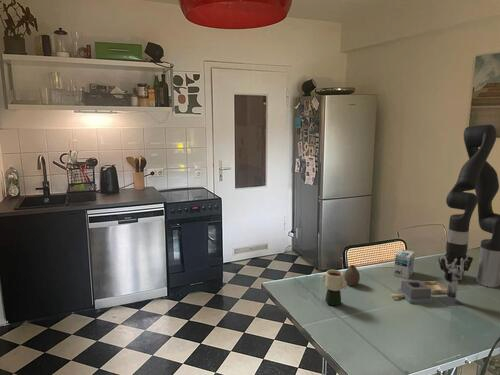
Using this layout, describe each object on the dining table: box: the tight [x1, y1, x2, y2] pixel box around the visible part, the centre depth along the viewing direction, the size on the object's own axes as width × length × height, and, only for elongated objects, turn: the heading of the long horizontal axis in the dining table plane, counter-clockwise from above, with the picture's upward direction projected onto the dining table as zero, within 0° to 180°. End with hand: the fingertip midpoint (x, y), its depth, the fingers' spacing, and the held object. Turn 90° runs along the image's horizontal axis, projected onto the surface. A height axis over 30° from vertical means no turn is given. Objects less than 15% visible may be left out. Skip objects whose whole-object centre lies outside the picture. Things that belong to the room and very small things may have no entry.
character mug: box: [322, 269, 348, 306], centre depth 150 cm, size 11×7×13 cm, turn 45°
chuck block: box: [391, 279, 434, 304], centre depth 156 cm, size 15×10×6 cm, turn 95°
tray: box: [422, 280, 448, 294], centre depth 165 cm, size 9×9×2 cm
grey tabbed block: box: [446, 269, 463, 299], centre depth 152 cm, size 4×7×11 cm, turn 6°
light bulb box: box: [393, 248, 416, 280], centre depth 181 cm, size 11×7×11 cm, turn 143°
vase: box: [344, 264, 361, 287], centre depth 168 cm, size 7×7×9 cm
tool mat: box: [435, 295, 465, 307], centre depth 154 cm, size 8×8×1 cm
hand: (453, 280), depth 152 cm, fingers closed on grey tabbed block, 4 cm apart
